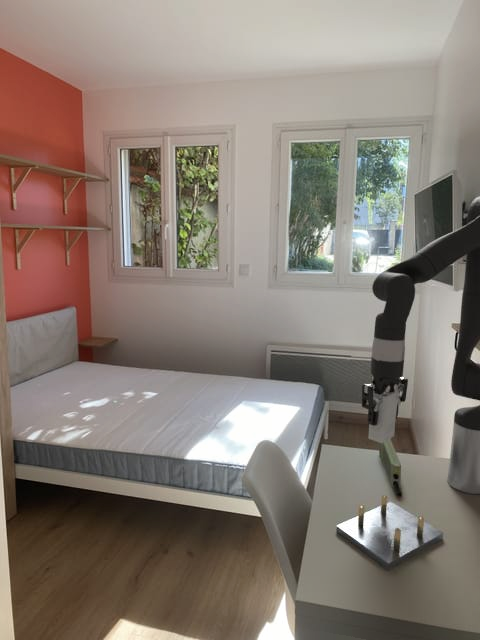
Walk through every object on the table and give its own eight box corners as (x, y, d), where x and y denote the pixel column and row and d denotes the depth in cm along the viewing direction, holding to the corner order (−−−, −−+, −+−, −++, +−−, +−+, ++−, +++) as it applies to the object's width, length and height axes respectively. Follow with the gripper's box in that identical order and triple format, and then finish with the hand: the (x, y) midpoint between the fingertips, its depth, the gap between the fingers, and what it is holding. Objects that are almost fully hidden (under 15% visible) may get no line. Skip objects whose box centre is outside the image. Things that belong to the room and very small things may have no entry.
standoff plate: (389, 507, 110) (391, 486, 109) (442, 539, 98) (445, 516, 97) (336, 531, 100) (337, 509, 99) (387, 570, 88) (390, 545, 87)
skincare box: (378, 431, 116) (381, 386, 114) (395, 437, 113) (399, 390, 111) (367, 439, 111) (370, 392, 109) (384, 444, 108) (388, 396, 106)
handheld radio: (389, 454, 138) (406, 500, 113) (378, 454, 138) (392, 499, 114) (390, 433, 136) (407, 475, 112) (379, 433, 137) (393, 474, 113)
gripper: (394, 349, 115) (389, 411, 118) (354, 356, 108) (350, 422, 110) (420, 356, 109) (414, 421, 112) (379, 363, 101) (374, 433, 104)
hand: (382, 421), depth 111 cm, fingers closed on skincare box, 6 cm apart
